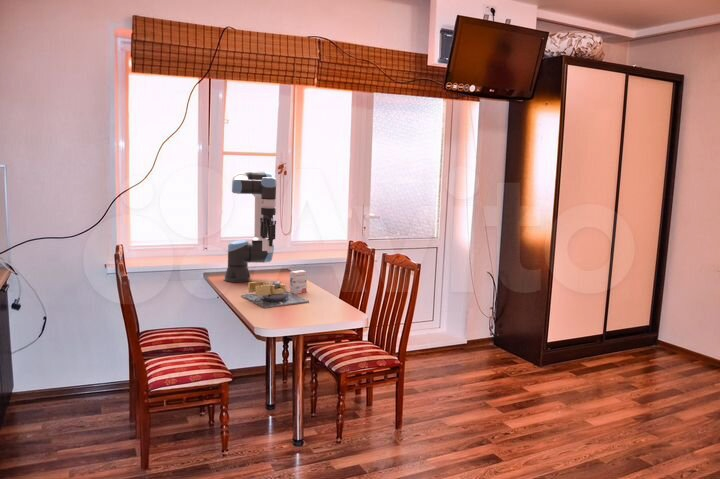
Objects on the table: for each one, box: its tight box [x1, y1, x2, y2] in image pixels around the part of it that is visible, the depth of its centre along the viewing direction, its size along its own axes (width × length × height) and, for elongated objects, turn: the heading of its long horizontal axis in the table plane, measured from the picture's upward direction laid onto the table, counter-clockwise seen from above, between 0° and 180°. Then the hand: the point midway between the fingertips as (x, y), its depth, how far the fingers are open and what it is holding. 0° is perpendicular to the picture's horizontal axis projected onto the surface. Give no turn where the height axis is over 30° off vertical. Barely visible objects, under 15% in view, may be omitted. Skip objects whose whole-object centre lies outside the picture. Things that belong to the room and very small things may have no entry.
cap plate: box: [240, 281, 310, 309], centre depth 306 cm, size 26×26×9 cm
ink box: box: [289, 270, 308, 295], centre depth 324 cm, size 9×5×12 cm, turn 134°
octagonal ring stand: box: [247, 280, 288, 296], centre depth 304 cm, size 18×11×5 cm, turn 126°
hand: (267, 251), depth 307 cm, fingers open, 5 cm apart
